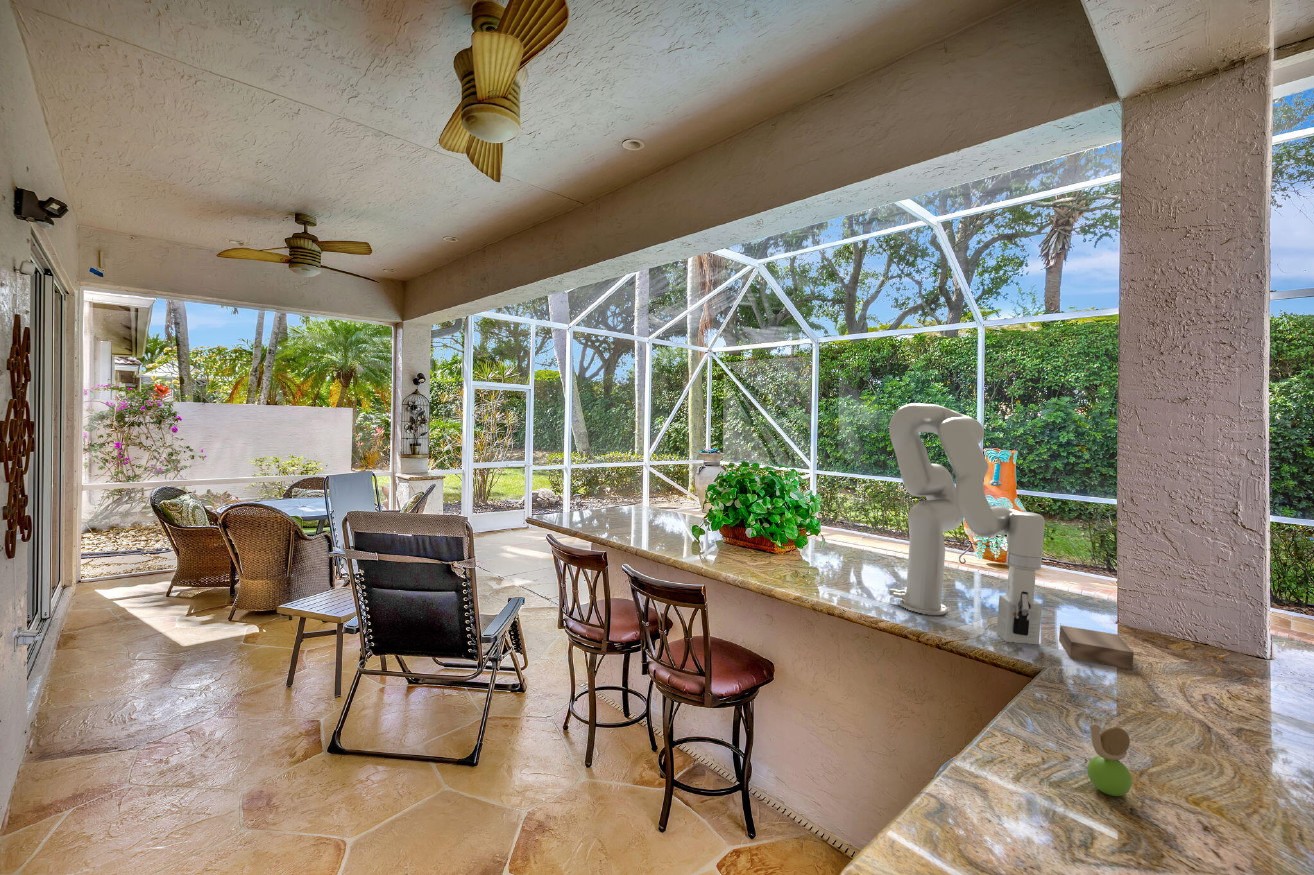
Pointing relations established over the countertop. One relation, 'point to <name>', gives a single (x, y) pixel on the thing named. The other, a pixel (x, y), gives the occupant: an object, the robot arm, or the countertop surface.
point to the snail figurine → (1109, 760)
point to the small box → (1007, 622)
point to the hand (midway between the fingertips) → (1018, 628)
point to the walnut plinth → (1096, 647)
